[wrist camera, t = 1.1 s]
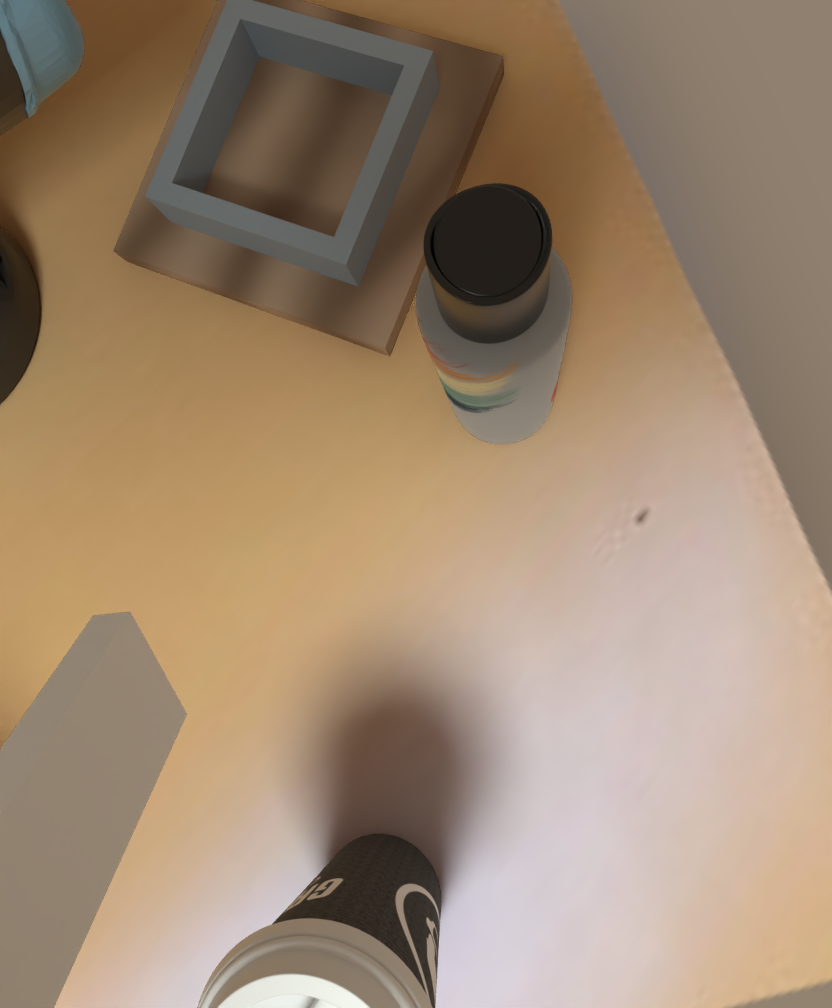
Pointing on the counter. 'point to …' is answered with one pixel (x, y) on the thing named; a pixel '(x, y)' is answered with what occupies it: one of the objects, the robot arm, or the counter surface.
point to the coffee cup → (344, 938)
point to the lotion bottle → (495, 309)
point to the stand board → (320, 184)
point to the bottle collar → (216, 102)
